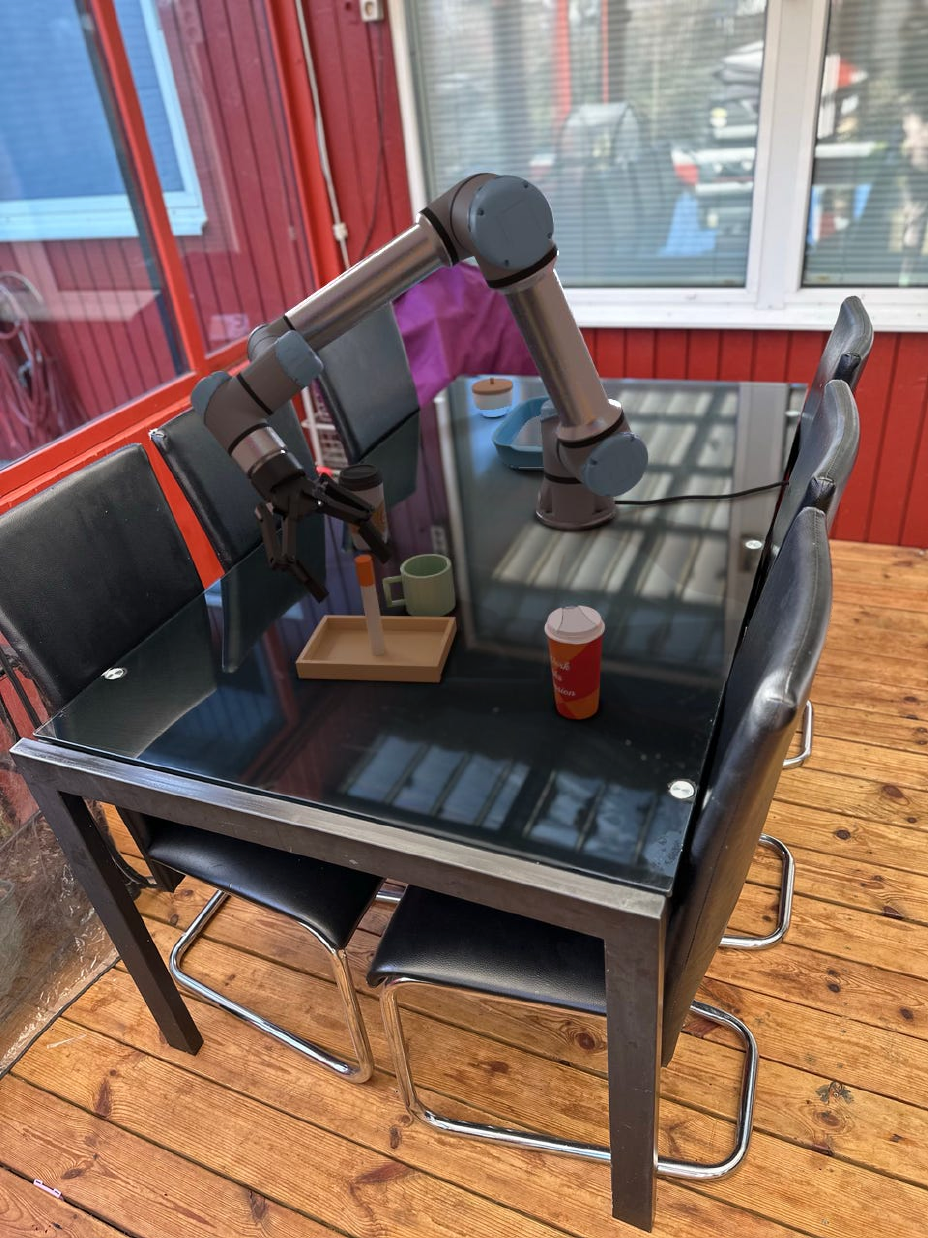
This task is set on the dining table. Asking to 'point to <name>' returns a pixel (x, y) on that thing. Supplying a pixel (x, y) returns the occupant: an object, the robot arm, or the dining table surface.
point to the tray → (348, 655)
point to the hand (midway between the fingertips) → (357, 578)
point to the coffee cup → (366, 496)
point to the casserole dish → (511, 429)
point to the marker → (370, 603)
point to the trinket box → (492, 393)
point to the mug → (424, 586)
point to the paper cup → (575, 659)
